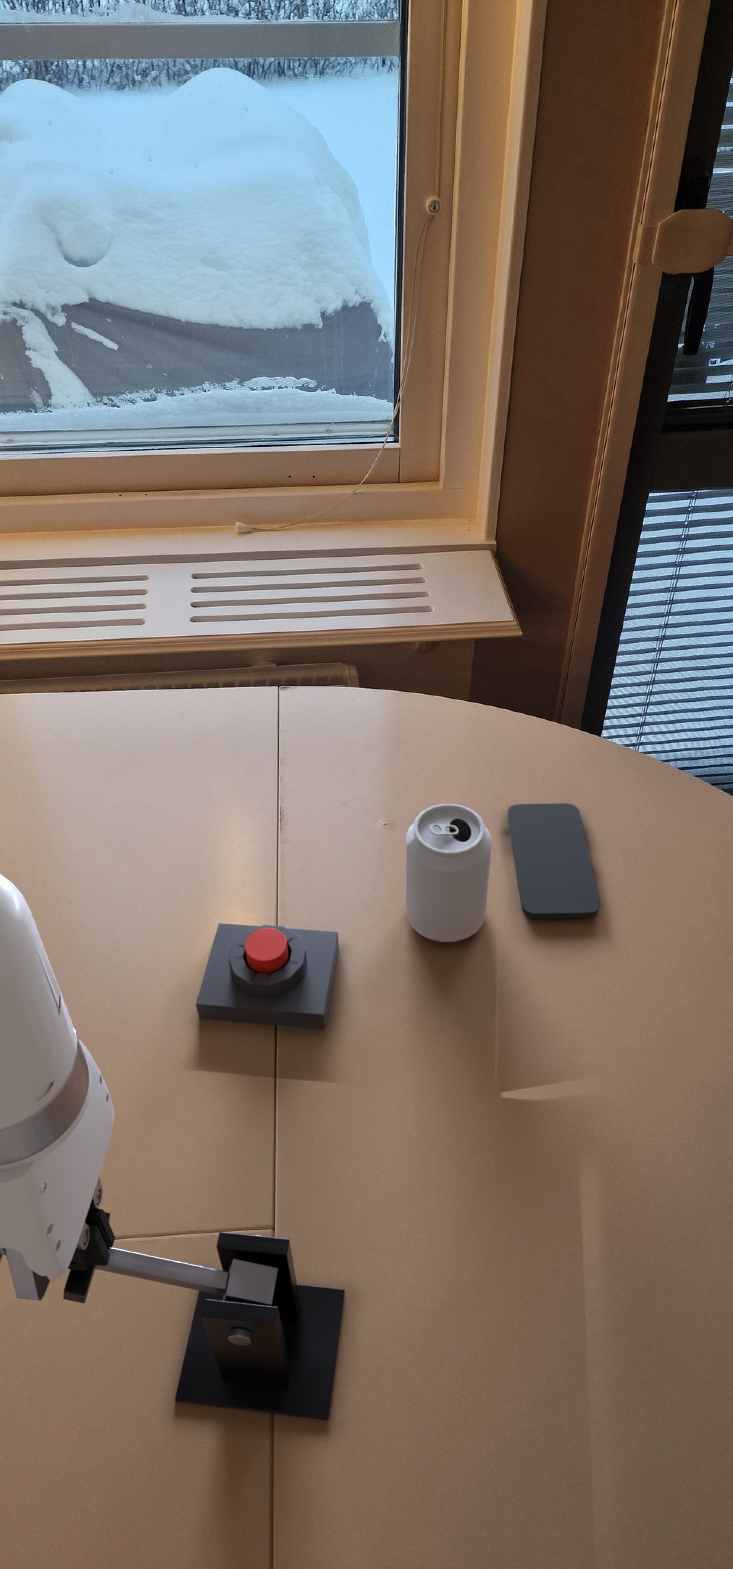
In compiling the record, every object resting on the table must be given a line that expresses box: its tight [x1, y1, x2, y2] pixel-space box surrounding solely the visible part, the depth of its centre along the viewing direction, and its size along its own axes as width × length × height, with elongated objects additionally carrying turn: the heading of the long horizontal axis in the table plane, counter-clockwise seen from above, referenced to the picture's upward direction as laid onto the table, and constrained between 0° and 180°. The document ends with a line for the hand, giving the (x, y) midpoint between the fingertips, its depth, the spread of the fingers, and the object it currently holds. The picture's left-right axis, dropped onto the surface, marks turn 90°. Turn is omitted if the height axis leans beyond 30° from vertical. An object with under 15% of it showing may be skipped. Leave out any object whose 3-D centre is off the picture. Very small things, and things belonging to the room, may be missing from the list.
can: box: [405, 803, 493, 943], centre depth 93 cm, size 8×8×12 cm
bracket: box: [174, 1231, 346, 1421], centre depth 66 cm, size 10×8×12 cm
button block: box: [195, 922, 340, 1030], centre depth 91 cm, size 11×9×4 cm
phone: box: [507, 802, 601, 919], centre depth 102 cm, size 7×1×15 cm
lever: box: [62, 1211, 278, 1306], centre depth 63 cm, size 12×5×2 cm, turn 84°
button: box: [245, 928, 288, 973], centre depth 89 cm, size 4×4×2 cm
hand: (86, 1249), depth 62 cm, fingers closed
